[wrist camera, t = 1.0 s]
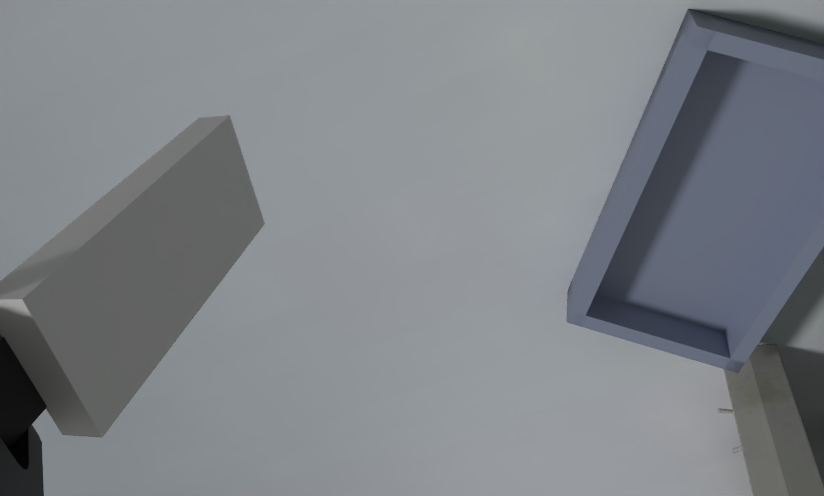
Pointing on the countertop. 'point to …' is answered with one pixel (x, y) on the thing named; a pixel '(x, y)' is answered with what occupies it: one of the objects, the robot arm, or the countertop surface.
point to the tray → (712, 197)
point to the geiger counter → (771, 428)
